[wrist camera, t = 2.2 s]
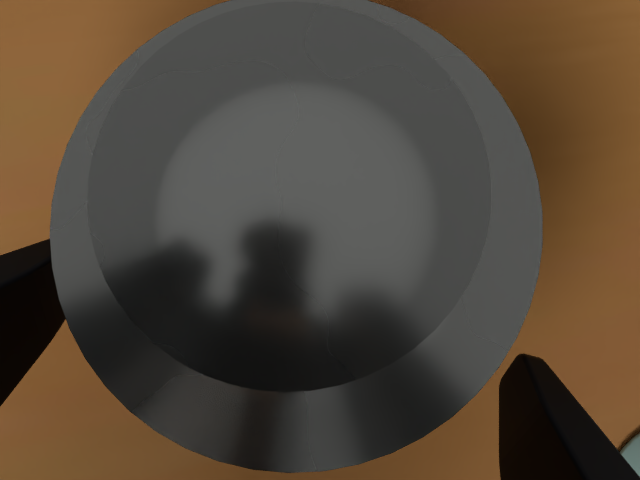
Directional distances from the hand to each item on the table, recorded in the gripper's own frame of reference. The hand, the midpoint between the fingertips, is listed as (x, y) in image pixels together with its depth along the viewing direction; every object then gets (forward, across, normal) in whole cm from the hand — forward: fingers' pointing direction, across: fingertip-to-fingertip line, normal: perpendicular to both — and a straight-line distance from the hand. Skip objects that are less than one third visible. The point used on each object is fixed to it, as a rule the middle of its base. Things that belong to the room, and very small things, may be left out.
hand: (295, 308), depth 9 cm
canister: (+7, 0, +6) cm, 9 cm away
